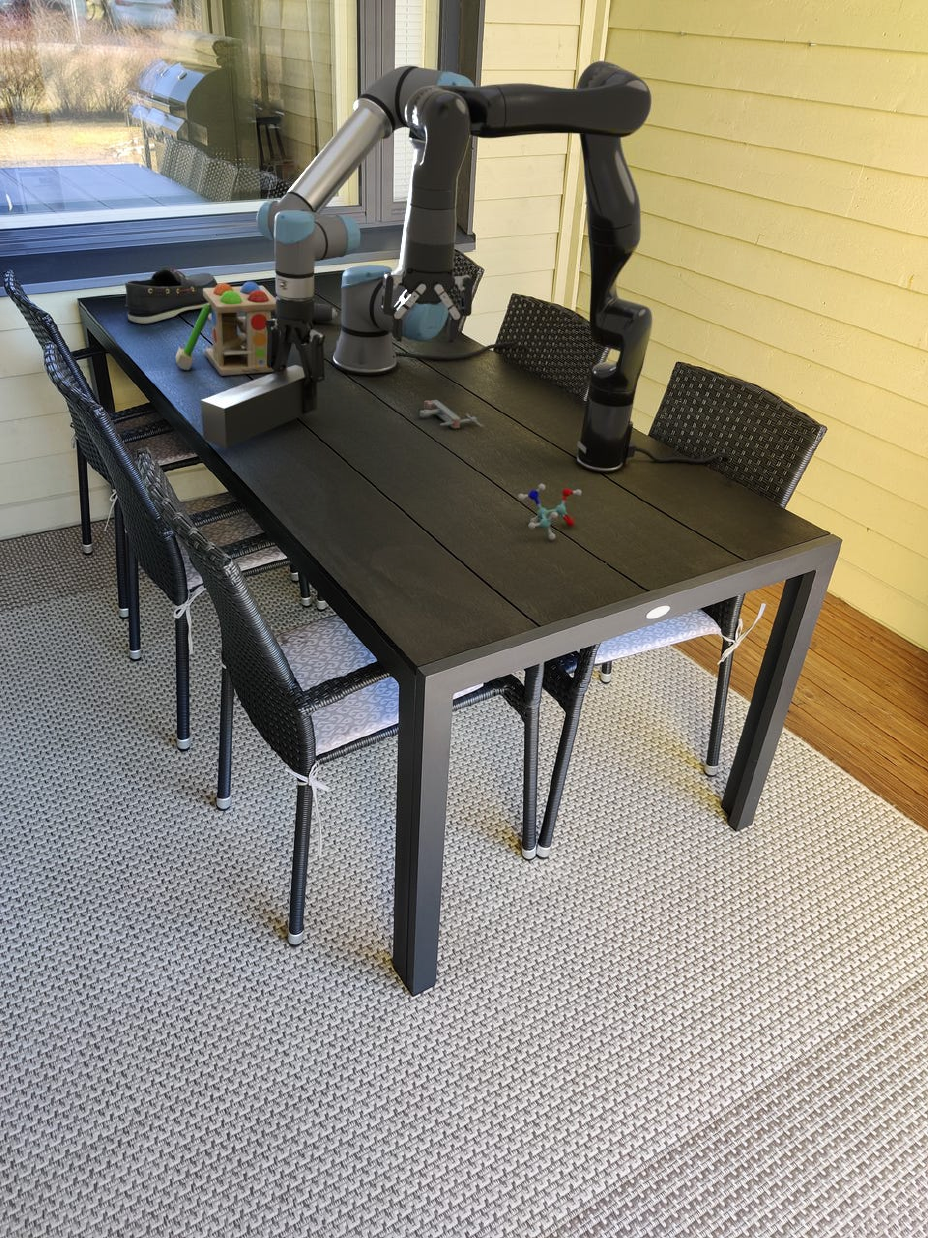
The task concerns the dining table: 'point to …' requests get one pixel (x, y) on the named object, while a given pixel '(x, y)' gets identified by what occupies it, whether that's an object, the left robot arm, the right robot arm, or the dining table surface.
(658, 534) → the dining table surface
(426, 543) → the dining table surface
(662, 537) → the dining table surface
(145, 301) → the boat shoe
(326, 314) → the power drill
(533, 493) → the molecular model
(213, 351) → the pounding bench toy
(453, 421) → the clamp
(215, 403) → the bar
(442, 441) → the dining table surface
